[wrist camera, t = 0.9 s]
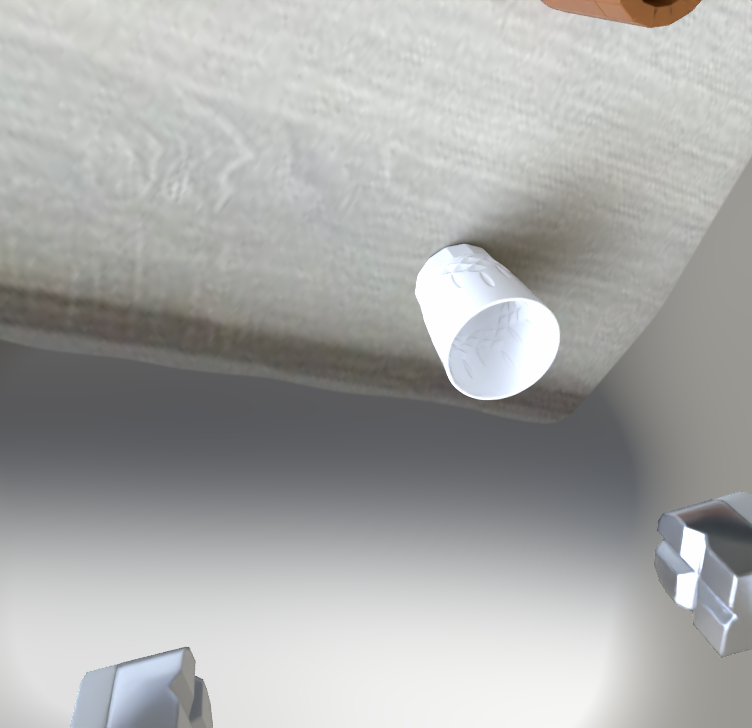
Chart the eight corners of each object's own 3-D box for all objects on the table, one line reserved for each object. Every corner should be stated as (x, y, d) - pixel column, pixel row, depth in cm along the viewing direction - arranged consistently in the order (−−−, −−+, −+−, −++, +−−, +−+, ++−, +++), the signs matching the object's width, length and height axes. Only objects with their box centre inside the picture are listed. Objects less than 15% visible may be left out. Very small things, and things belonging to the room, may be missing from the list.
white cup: (504, 226, 46) (564, 286, 38) (503, 315, 50) (557, 386, 42) (403, 246, 45) (442, 312, 37) (411, 335, 49) (448, 411, 41)
